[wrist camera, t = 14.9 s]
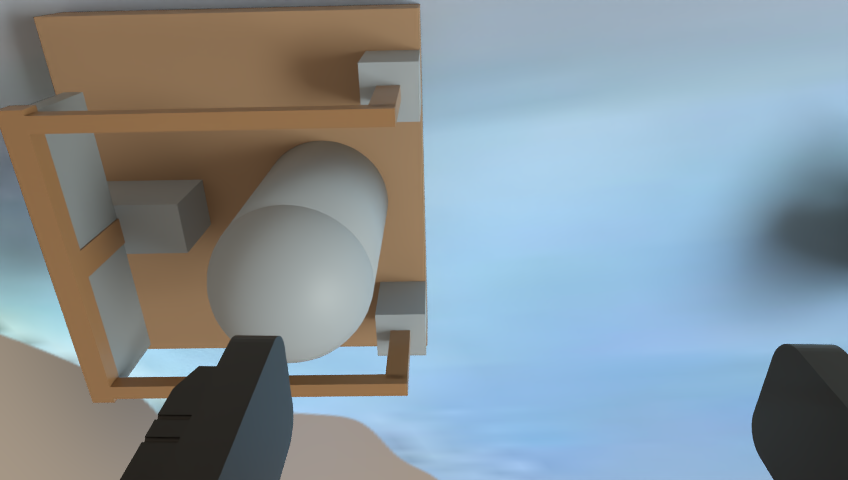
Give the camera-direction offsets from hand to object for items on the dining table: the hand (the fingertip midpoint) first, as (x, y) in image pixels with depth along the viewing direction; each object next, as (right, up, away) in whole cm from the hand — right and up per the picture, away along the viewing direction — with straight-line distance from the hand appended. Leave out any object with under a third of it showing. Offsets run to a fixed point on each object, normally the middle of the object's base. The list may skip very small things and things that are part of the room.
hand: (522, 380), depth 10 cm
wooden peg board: (-12, +6, +30) cm, 33 cm away
